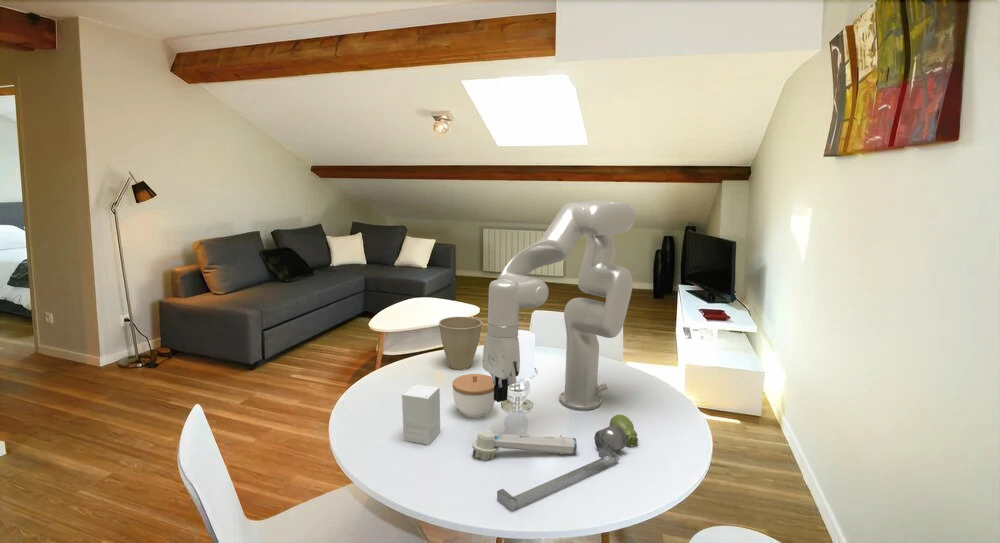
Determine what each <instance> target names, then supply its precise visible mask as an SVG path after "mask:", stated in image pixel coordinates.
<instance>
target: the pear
mask: <svg viewBox="0 0 1000 543" xmlns="http://www.w3.org/2000/svg"><path fill="white" fill-rule="evenodd" d="M612 425H617V426H619V427H620V428H621V429H622V430H623V431H624V433H625V435H626V439H627V443H626V446H625V447H634V446H638V442H639V439H638V434H637V432H636V430H635V427H634V423H633V422H632V421H631V419H630V418H628V416H626V415H624V414H616V415H614V416H613V417H611V419H610V420H609V426H612ZM631 445H633V446H631Z"/></svg>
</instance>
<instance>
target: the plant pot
mask: <svg viewBox="0 0 1000 543" xmlns="http://www.w3.org/2000/svg"><path fill="white" fill-rule="evenodd" d="M438 325H439V326H438V327H439V333H440V339H441V343H442V348H443V351H444V355H445V358H446V360H447V363H448V366H449V367H450V368H451V369H453V370H460V371H461V370H466V369H469V368H470V367H471V365H472V363H473V361H474V358H475V355H476V352H477V349H478V346H479V342H480V338H481V337H480V336H481V332H482V326H483V321H482V320H480V319H479V318H476V317H470V316H450V317H449V316H448V317H446V318H442V319H440V320H439V321H438Z"/></svg>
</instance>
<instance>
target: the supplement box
mask: <svg viewBox="0 0 1000 543" xmlns="http://www.w3.org/2000/svg"><path fill="white" fill-rule="evenodd" d="M440 394H441V393H440V387H437V386H430V385H429V386H428V385H422V384H417V383H415V384H414V385H412V386H411V387H410V388H409V389H407V390H406V391H405V392H403V393H402V394H401V400H402V425H403V426H402V427H403V428H402V430H403V431H402V432H403V441H406V442H412V443H417V444H423V445H427V446H428V445H430V444H432V442H433V441H434V440H435V439H436V438H437V437H438V436H439V434H440V433H441V403H440V402H441V400H440V399H441V398H440V396H441V395H440Z"/></svg>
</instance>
